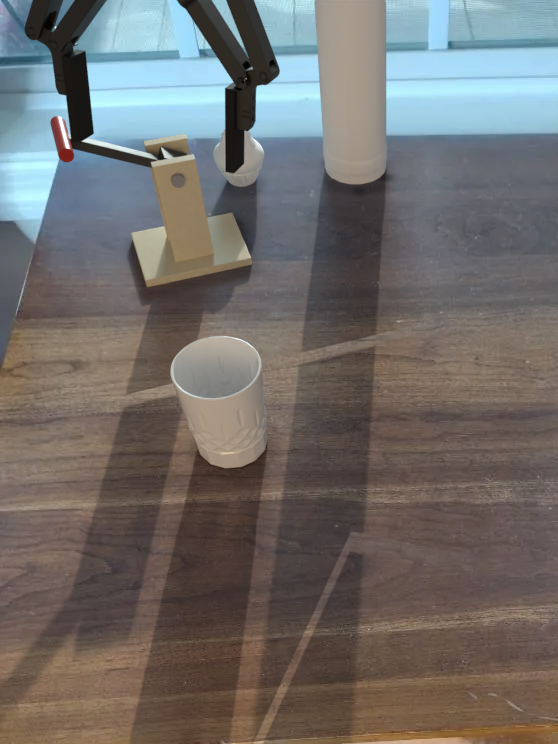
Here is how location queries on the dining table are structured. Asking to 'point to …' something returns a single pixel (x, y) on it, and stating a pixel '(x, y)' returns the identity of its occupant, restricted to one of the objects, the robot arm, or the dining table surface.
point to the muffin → (251, 161)
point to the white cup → (222, 399)
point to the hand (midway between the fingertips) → (158, 153)
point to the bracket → (185, 224)
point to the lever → (103, 148)
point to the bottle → (352, 87)
